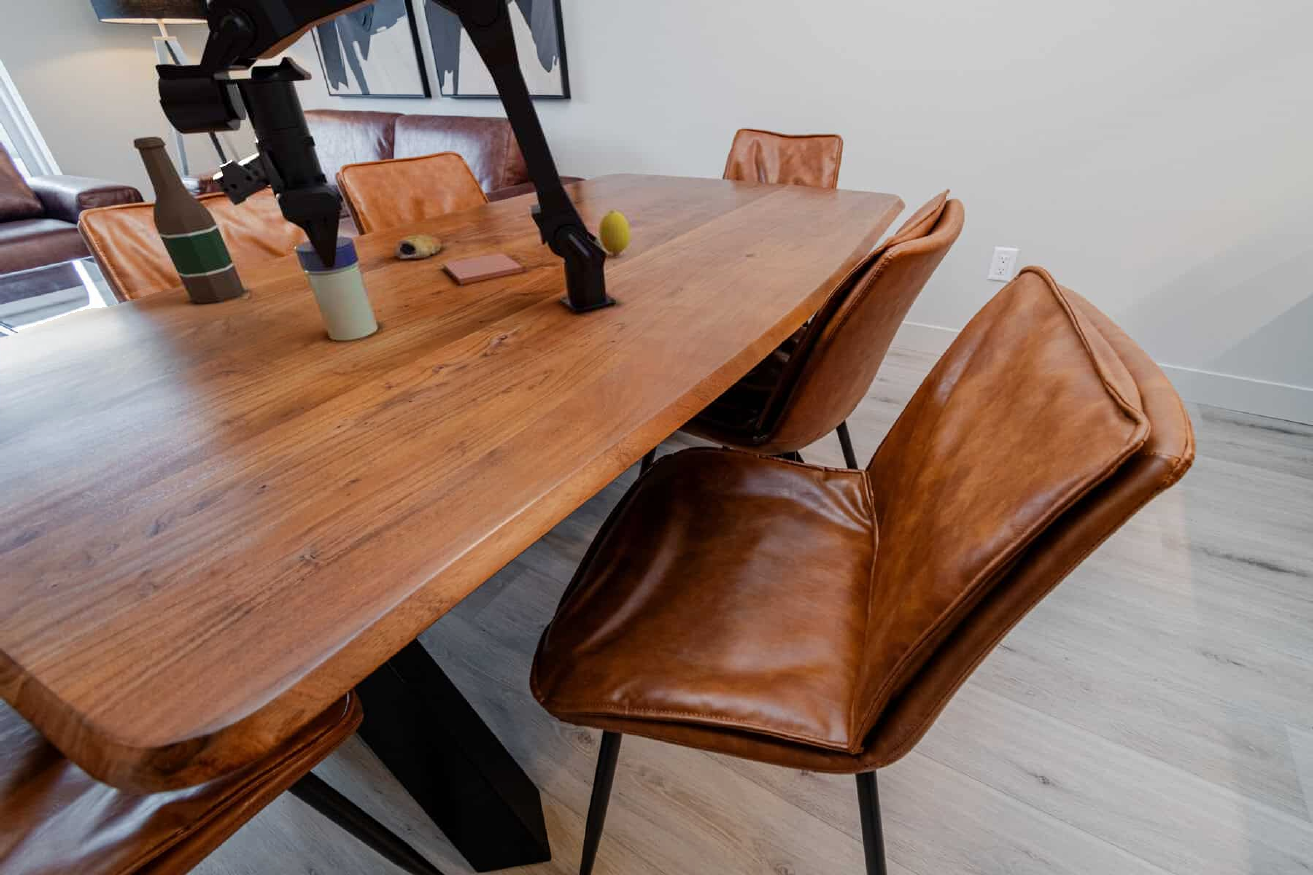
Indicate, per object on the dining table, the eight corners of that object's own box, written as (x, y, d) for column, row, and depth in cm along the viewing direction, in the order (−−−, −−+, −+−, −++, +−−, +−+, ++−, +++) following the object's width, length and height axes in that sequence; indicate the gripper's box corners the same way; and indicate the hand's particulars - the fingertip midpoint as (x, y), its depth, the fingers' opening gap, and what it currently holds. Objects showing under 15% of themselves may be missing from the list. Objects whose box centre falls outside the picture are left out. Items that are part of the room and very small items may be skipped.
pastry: (422, 246, 122) (417, 227, 120) (451, 247, 121) (446, 228, 119) (394, 259, 115) (388, 239, 113) (424, 261, 113) (419, 240, 111)
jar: (383, 331, 84) (358, 249, 77) (335, 344, 80) (304, 260, 74) (370, 319, 88) (345, 240, 82) (324, 331, 85) (294, 250, 78)
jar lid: (323, 256, 82) (317, 236, 81) (368, 256, 81) (362, 236, 80) (290, 271, 77) (282, 251, 75) (338, 272, 76) (331, 251, 74)
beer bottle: (219, 305, 97) (144, 140, 84) (180, 303, 98) (99, 142, 85) (255, 289, 103) (190, 134, 90) (218, 288, 105) (148, 135, 92)
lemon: (595, 258, 109) (591, 212, 105) (611, 250, 113) (607, 206, 109) (621, 261, 107) (618, 214, 103) (636, 253, 111) (633, 208, 107)
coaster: (523, 272, 104) (522, 266, 104) (460, 284, 100) (459, 279, 99) (503, 258, 112) (502, 252, 112) (444, 269, 108) (443, 263, 107)
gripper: (202, 129, 73) (254, 257, 82) (197, 141, 60) (260, 293, 68) (302, 121, 78) (341, 242, 87) (318, 130, 65) (363, 273, 73)
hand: (326, 261), depth 79 cm, fingers closed on jar lid, 7 cm apart
